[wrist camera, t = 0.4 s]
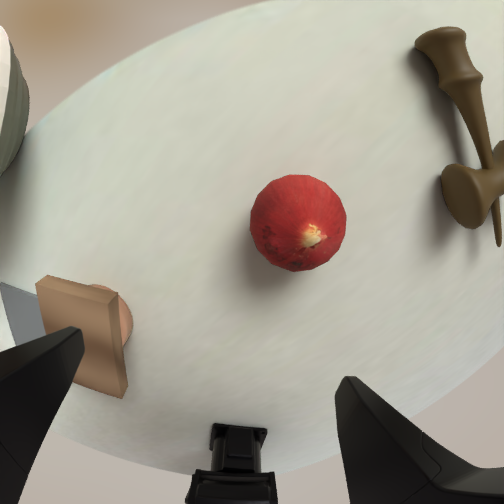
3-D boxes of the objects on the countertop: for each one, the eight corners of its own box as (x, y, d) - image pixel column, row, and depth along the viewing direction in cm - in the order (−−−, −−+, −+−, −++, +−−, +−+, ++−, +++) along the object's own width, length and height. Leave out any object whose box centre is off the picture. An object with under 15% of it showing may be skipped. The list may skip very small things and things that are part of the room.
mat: (72, 381, 27) (70, 383, 26) (23, 359, 26) (21, 361, 26) (52, 300, 23) (49, 302, 23) (1, 282, 22) (-2, 284, 22)
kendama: (452, 39, 15) (506, 222, 21) (380, 47, 17) (449, 256, 22) (486, 22, 10) (543, 236, 15) (411, 21, 11) (486, 280, 16)
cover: (128, 385, 22) (122, 398, 20) (66, 365, 21) (58, 376, 20) (118, 292, 19) (107, 304, 17) (47, 274, 18) (35, 283, 17)
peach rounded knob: (134, 348, 25) (122, 371, 21) (80, 333, 24) (65, 353, 21) (131, 292, 23) (115, 312, 19) (72, 278, 22) (52, 295, 19)
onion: (308, 259, 22) (336, 312, 14) (238, 233, 21) (232, 277, 13) (339, 190, 20) (387, 211, 12) (268, 159, 19) (279, 160, 12)
